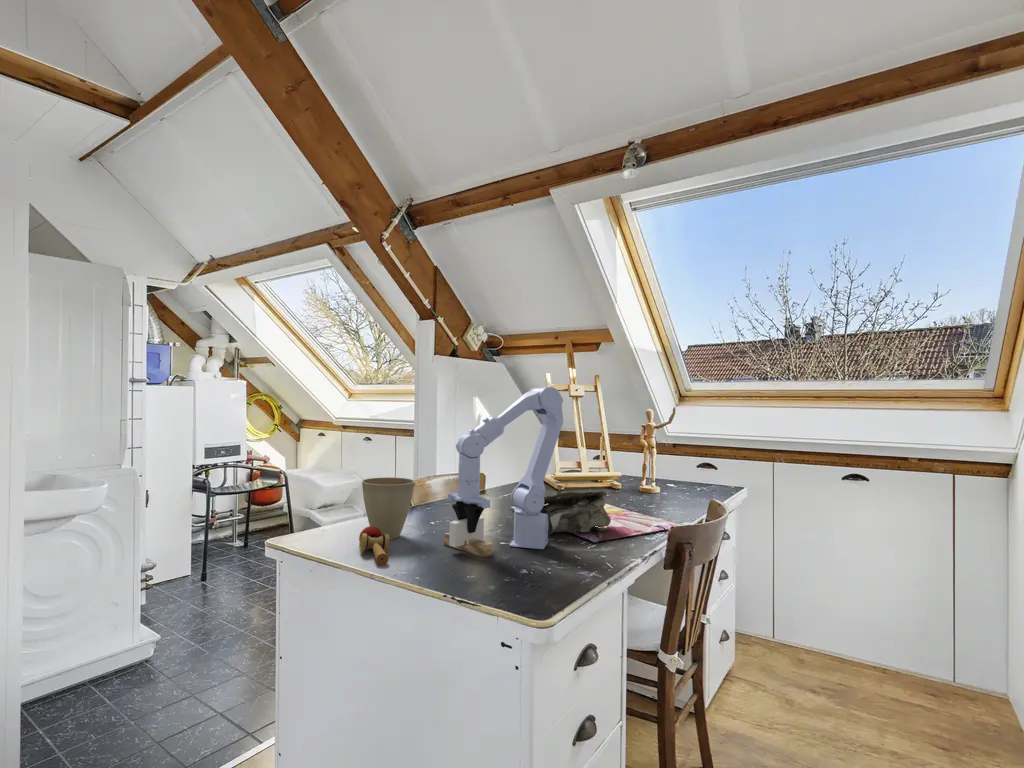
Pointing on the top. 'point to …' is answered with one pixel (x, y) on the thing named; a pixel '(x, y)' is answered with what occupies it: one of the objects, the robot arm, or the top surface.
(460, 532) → the white flat block
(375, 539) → the kendama
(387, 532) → the plant pot
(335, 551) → the top surface
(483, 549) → the wooden bar
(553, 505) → the hollow geode rock
